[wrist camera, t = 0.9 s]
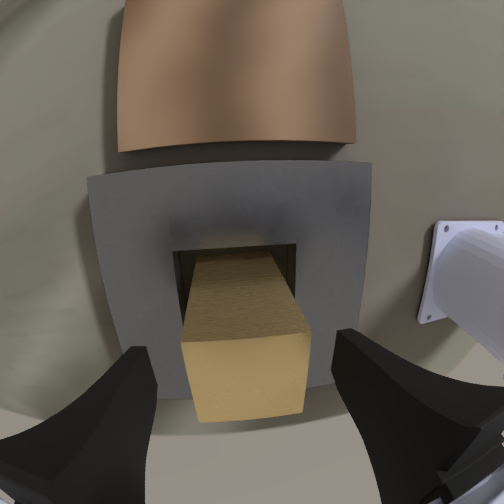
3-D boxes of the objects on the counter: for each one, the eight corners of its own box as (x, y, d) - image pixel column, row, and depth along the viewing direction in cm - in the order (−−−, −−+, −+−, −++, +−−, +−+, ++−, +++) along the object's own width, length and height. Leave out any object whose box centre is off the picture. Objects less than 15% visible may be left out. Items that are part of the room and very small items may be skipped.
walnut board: (333, -3, 11) (340, -11, 10) (346, 143, 14) (356, 143, 13) (132, -1, 10) (127, -10, 9) (125, 152, 13) (118, 152, 12)
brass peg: (269, 251, 16) (311, 331, 8) (270, 313, 17) (302, 412, 10) (197, 256, 16) (180, 342, 8) (204, 318, 17) (199, 422, 9)
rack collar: (354, 161, 15) (371, 163, 13) (336, 363, 19) (346, 380, 17) (102, 174, 14) (86, 177, 12) (144, 379, 18) (139, 398, 16)
